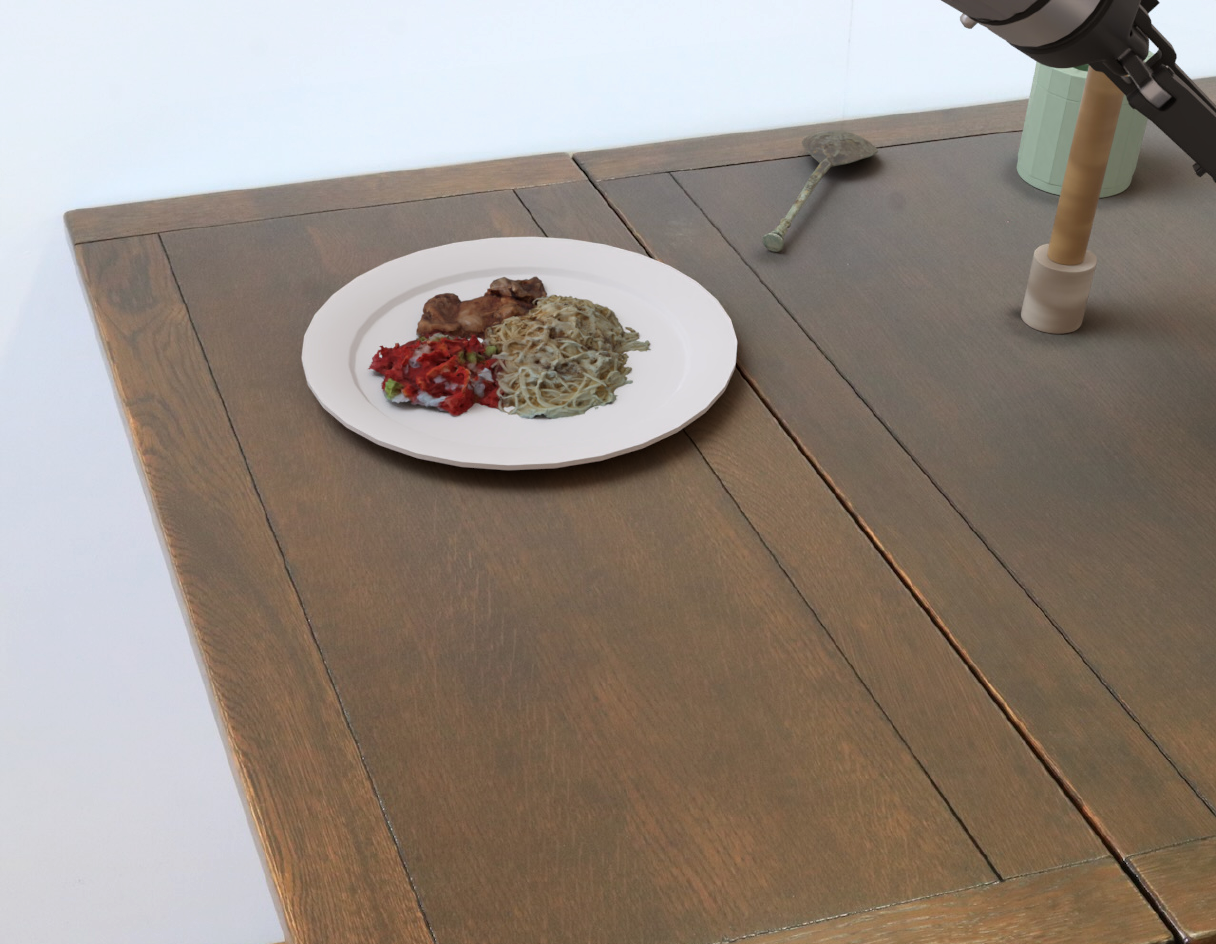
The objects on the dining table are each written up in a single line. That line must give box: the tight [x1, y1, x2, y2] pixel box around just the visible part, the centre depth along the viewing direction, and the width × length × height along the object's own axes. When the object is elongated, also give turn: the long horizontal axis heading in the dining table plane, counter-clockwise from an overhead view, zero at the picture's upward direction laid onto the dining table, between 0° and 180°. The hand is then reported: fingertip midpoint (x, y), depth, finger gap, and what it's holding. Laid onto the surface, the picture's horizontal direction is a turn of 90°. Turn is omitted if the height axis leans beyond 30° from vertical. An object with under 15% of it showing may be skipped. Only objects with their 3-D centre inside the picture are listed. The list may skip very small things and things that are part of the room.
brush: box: [1020, 65, 1129, 335], centre depth 103 cm, size 4×4×20 cm
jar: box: [1016, 50, 1155, 199], centre depth 125 cm, size 10×10×10 cm
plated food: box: [301, 236, 738, 471], centre depth 103 cm, size 30×30×3 cm
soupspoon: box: [762, 129, 879, 253], centre depth 124 cm, size 22×3×7 cm
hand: (1195, 87), depth 97 cm, fingers open, 13 cm apart
